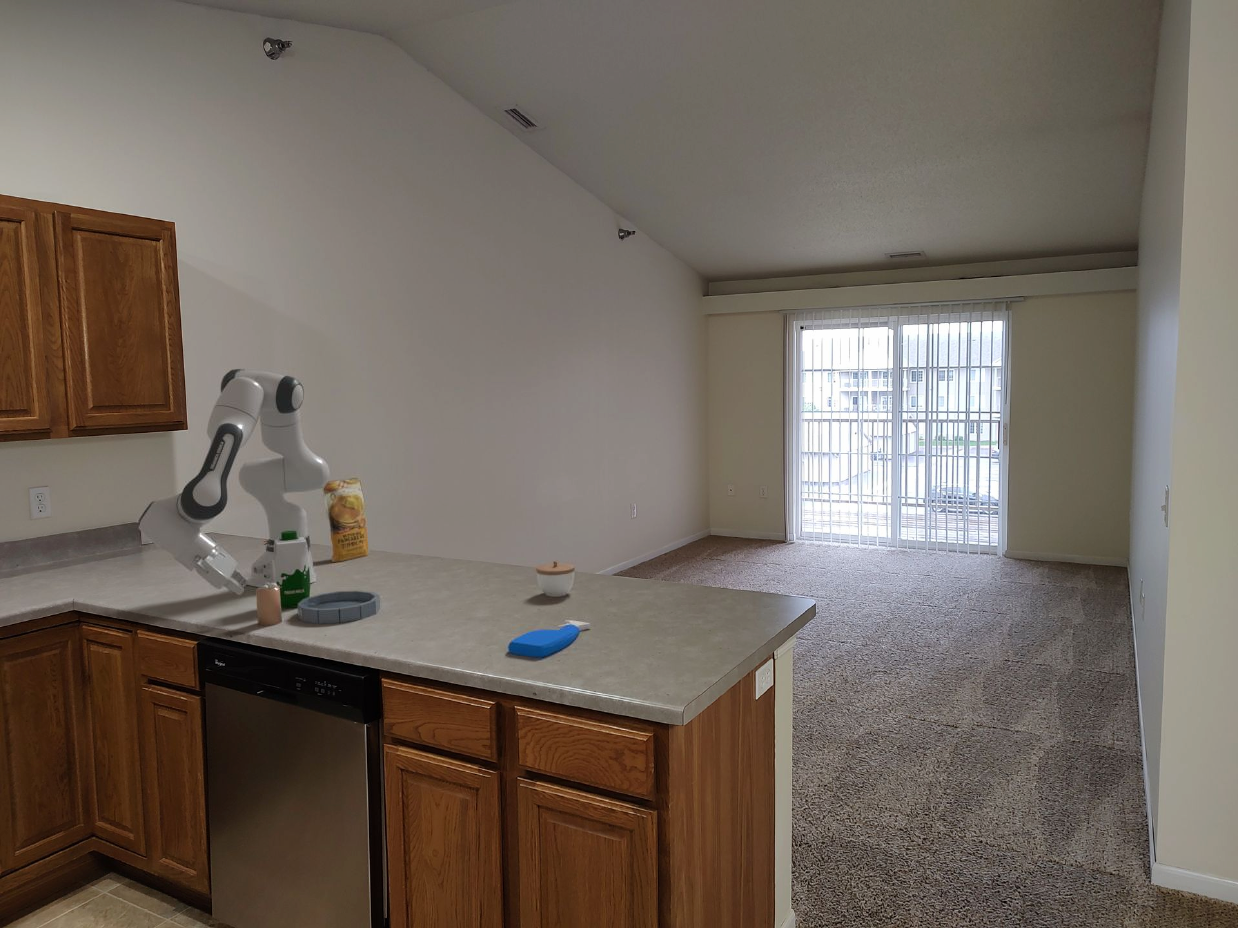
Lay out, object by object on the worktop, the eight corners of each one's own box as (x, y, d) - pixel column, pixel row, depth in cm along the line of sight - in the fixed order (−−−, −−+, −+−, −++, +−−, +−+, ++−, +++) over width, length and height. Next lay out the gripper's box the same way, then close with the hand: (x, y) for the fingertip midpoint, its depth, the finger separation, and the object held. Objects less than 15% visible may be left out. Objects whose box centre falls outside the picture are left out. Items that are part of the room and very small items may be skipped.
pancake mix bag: (320, 562, 290) (315, 482, 287) (363, 552, 306) (359, 476, 304) (333, 563, 286) (328, 482, 284) (376, 553, 303) (372, 476, 300)
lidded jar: (551, 588, 243) (550, 556, 242) (582, 591, 238) (581, 559, 237) (529, 596, 234) (528, 563, 233) (561, 600, 229) (560, 566, 228)
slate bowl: (282, 618, 218) (281, 605, 217) (339, 600, 235) (339, 588, 235) (339, 626, 209) (339, 612, 208) (394, 606, 226) (394, 594, 226)
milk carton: (308, 598, 238) (304, 529, 236) (313, 605, 230) (308, 533, 228) (275, 602, 234) (271, 532, 232) (279, 610, 226) (274, 537, 224)
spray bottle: (544, 647, 179) (600, 619, 201) (502, 641, 184) (561, 615, 206) (545, 660, 179) (600, 631, 201) (503, 654, 184) (561, 626, 206)
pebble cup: (253, 624, 213) (250, 584, 212) (271, 618, 218) (268, 579, 217) (268, 626, 210) (266, 586, 209) (286, 620, 215) (284, 581, 214)
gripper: (201, 551, 198) (249, 587, 202) (214, 537, 218) (257, 570, 221) (182, 571, 197) (230, 607, 201) (196, 555, 217) (240, 589, 220)
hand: (244, 588), depth 211 cm, fingers open, 8 cm apart
